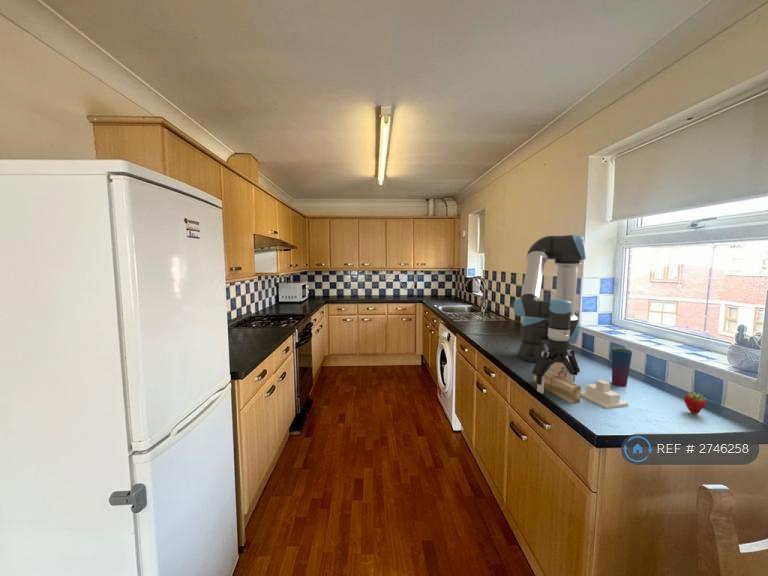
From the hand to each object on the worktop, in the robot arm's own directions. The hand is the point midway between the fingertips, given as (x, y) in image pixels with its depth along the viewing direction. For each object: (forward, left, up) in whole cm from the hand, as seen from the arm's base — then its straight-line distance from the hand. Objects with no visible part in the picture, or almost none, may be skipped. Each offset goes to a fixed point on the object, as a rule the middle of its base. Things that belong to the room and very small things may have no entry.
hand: (554, 390), depth 124 cm
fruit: (+25, +34, 0) cm, 42 cm away
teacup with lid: (-12, +15, 0) cm, 19 cm away
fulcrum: (+10, +12, 0) cm, 16 cm away
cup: (-1, +33, 0) cm, 33 cm away
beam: (0, 0, 0) cm, 0 cm away
